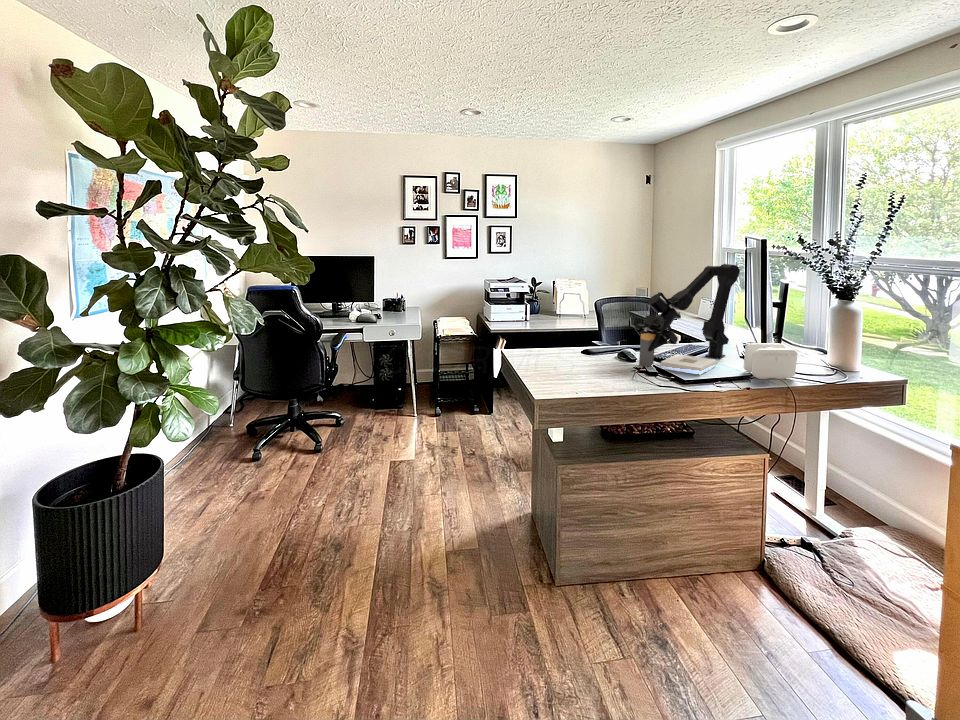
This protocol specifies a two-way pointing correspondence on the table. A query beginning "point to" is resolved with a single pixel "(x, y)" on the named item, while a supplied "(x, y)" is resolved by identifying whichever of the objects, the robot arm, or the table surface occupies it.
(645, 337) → the plug
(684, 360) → the socket block
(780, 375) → the cable organizer
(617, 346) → the table surface
